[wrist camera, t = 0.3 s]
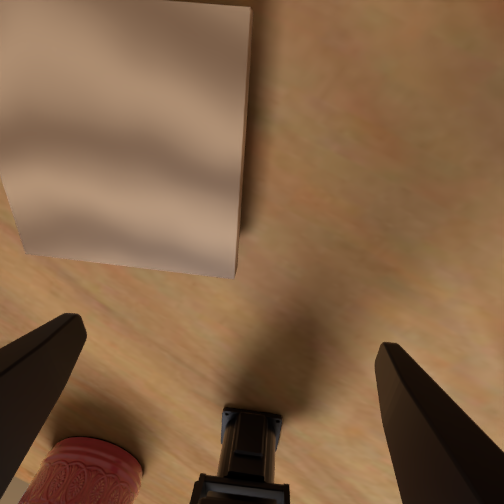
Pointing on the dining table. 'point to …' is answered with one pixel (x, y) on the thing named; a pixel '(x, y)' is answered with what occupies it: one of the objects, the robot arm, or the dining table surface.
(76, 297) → the dining table surface
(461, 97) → the dining table surface
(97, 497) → the canister
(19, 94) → the tan square slab
